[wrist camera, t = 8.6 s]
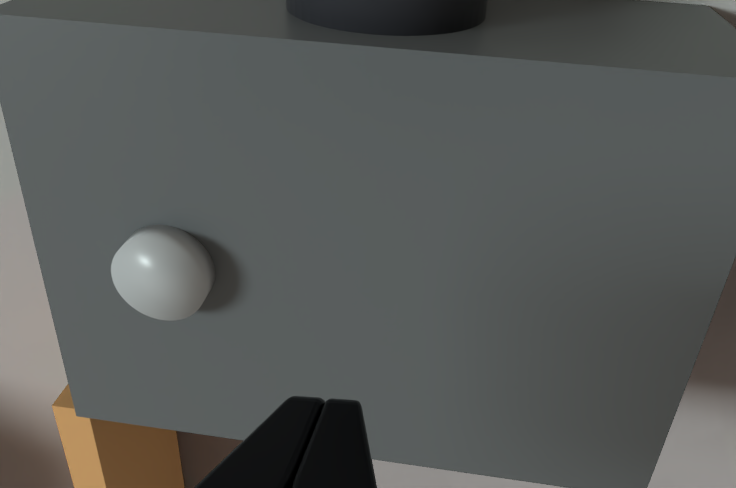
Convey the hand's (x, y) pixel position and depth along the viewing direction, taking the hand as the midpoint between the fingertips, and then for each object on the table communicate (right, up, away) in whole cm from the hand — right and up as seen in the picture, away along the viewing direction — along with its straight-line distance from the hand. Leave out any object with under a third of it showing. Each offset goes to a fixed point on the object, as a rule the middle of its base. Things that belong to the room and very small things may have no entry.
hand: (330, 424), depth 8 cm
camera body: (+1, +4, +11) cm, 12 cm away
